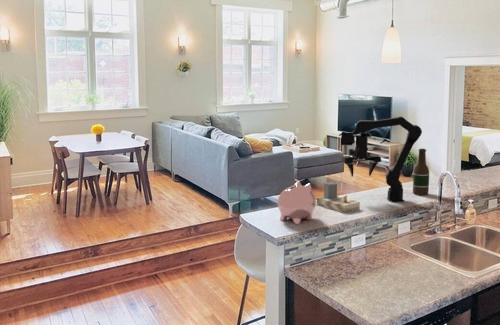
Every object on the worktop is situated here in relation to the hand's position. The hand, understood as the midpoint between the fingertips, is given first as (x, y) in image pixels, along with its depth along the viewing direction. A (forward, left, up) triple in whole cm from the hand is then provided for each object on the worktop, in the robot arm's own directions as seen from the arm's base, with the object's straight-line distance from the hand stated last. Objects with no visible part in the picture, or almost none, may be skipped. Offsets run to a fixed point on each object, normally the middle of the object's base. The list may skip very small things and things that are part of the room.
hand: (361, 176), depth 241 cm
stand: (+16, +12, -12) cm, 23 cm away
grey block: (+18, +7, -8) cm, 21 cm away
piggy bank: (+39, +28, -12) cm, 50 cm away
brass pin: (+13, +17, -8) cm, 23 cm away
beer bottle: (-34, -4, -12) cm, 36 cm away
